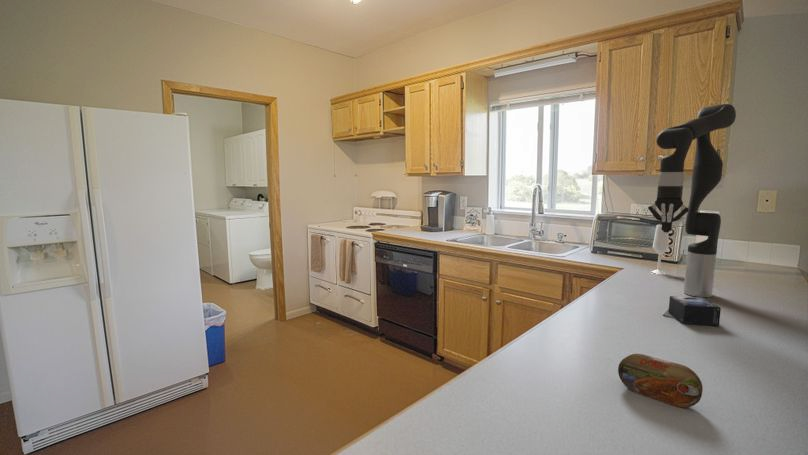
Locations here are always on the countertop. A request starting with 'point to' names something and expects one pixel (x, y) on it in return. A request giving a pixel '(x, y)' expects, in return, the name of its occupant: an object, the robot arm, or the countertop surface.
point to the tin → (661, 380)
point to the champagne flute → (660, 245)
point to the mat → (668, 314)
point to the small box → (694, 310)
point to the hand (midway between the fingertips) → (666, 232)
